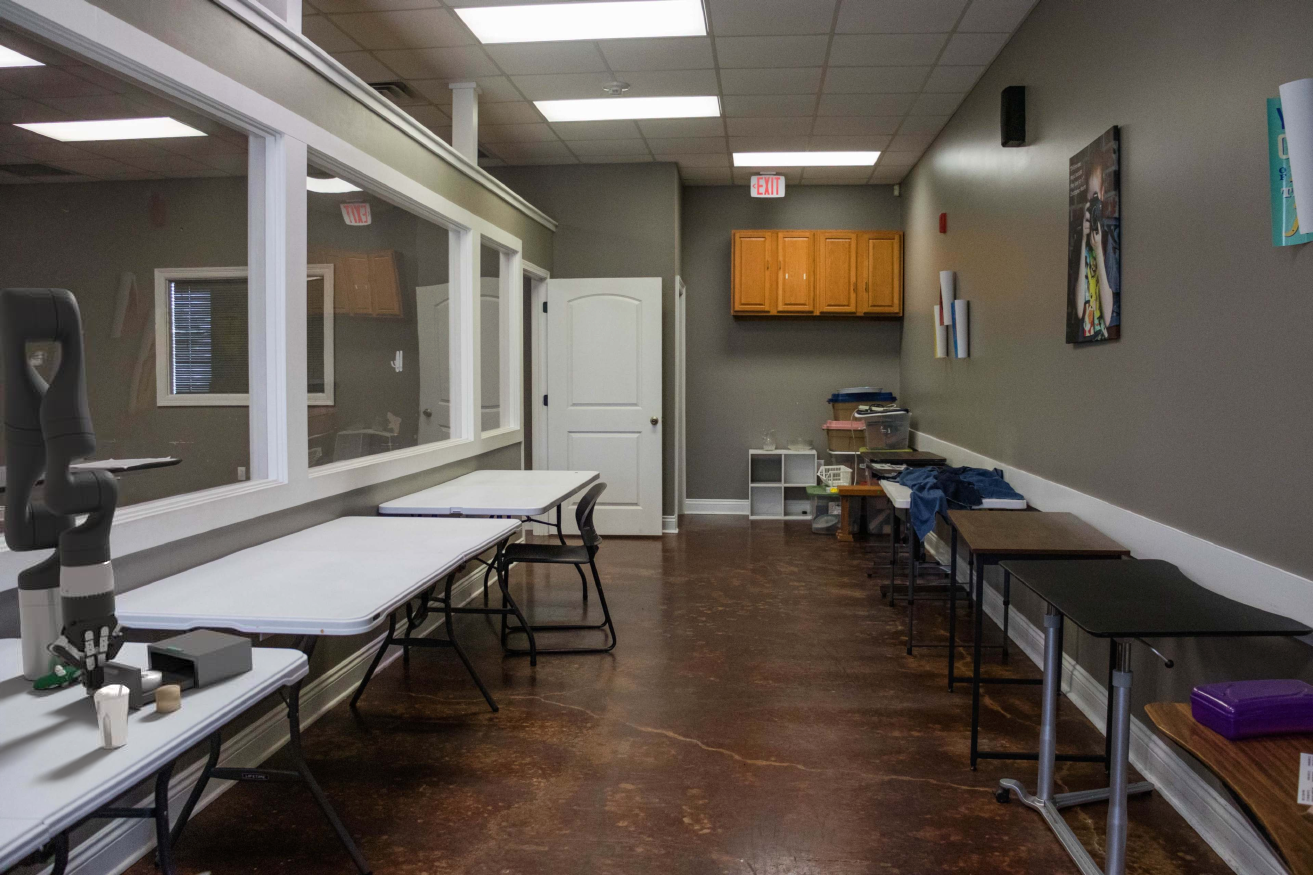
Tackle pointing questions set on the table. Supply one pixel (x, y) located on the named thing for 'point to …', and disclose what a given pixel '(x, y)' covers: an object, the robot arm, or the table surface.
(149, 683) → the disc
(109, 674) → the grey drawer
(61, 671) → the green toy
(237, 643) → the gray drawer box
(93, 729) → the table surface
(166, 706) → the tan short cylinder
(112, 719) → the milkshake
